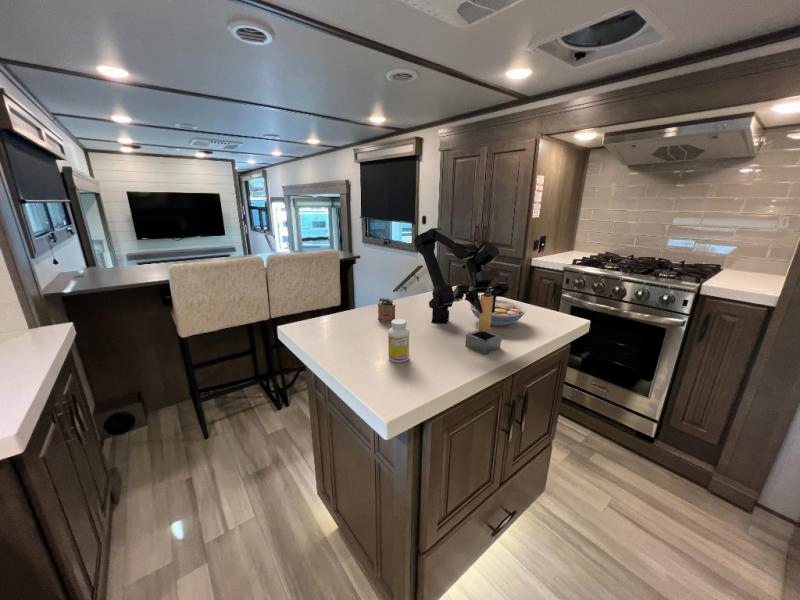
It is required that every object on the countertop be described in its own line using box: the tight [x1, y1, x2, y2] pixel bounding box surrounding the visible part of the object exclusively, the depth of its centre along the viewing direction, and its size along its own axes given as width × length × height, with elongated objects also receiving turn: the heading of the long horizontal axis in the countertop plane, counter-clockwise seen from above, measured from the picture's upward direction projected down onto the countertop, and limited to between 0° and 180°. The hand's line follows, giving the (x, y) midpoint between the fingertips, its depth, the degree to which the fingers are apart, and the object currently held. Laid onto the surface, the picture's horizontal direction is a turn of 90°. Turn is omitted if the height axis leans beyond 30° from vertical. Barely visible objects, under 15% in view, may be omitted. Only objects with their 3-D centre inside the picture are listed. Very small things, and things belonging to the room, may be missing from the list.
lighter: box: [377, 297, 396, 324], centre depth 132 cm, size 8×3×10 cm, turn 65°
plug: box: [477, 288, 493, 332], centre depth 105 cm, size 4×4×15 cm
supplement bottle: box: [387, 318, 410, 364], centre depth 99 cm, size 7×7×13 cm
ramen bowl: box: [468, 294, 527, 327], centre depth 131 cm, size 25×23×8 cm
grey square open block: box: [465, 329, 502, 356], centre depth 109 cm, size 8×8×4 cm
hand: (487, 312), depth 104 cm, fingers closed on plug, 4 cm apart
